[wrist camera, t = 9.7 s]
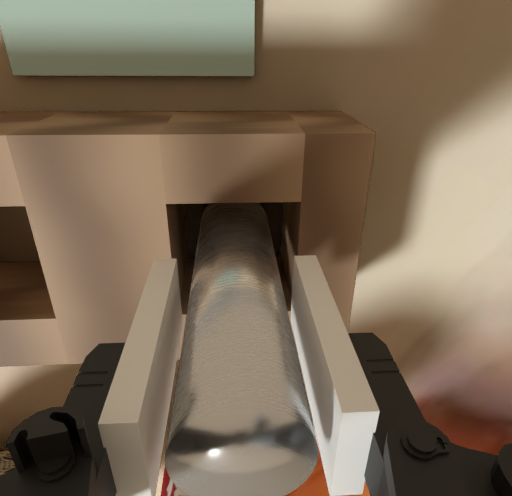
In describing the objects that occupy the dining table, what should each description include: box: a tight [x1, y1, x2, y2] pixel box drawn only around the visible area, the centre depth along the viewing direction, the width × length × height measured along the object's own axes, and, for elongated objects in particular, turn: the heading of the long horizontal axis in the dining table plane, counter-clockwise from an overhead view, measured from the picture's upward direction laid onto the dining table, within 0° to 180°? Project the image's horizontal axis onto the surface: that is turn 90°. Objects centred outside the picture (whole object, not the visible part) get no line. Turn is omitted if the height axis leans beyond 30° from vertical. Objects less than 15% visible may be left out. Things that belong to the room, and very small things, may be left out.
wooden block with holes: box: [0, 111, 376, 367], centre depth 18 cm, size 20×10×5 cm, turn 90°
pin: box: [165, 203, 318, 496], centre depth 14 cm, size 3×3×12 cm
